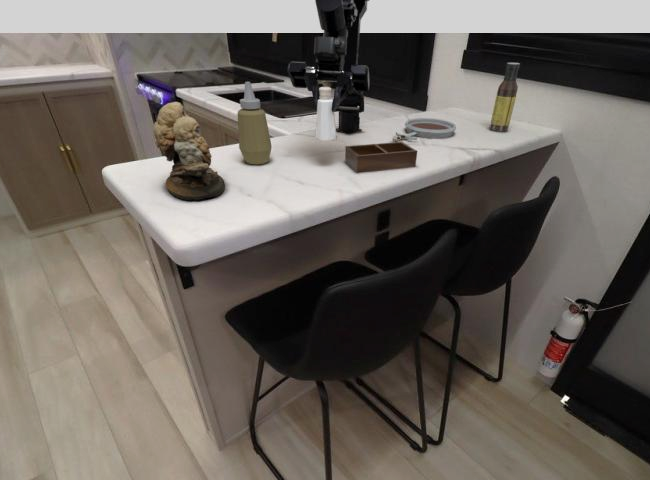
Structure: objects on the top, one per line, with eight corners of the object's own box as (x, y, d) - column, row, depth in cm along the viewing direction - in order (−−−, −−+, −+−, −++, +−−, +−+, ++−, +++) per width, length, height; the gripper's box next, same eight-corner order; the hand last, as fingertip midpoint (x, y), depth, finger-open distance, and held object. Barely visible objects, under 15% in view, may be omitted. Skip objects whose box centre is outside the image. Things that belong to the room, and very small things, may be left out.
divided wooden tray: (345, 162, 100) (345, 146, 97) (400, 156, 104) (402, 141, 102) (357, 172, 93) (357, 156, 91) (415, 166, 98) (417, 150, 96)
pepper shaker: (330, 142, 90) (329, 90, 83) (310, 139, 92) (308, 88, 85) (340, 137, 94) (341, 87, 87) (321, 133, 96) (320, 84, 89)
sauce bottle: (501, 127, 134) (518, 61, 122) (511, 132, 130) (529, 64, 117) (485, 127, 133) (500, 61, 121) (494, 132, 128) (511, 64, 116)
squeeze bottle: (279, 159, 99) (272, 81, 88) (261, 168, 93) (251, 86, 82) (254, 154, 102) (244, 78, 91) (234, 163, 96) (221, 82, 85)
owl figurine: (237, 196, 80) (223, 107, 69) (180, 208, 74) (154, 114, 64) (210, 170, 91) (194, 91, 81) (159, 179, 86) (134, 95, 75)
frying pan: (372, 128, 118) (424, 114, 134) (372, 138, 120) (423, 123, 136) (416, 140, 109) (466, 123, 125) (415, 150, 111) (464, 132, 127)
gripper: (286, 18, 82) (275, 84, 81) (371, 21, 80) (361, 89, 79) (298, 56, 93) (288, 115, 92) (373, 60, 91) (364, 120, 90)
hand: (324, 110), depth 88 cm, fingers closed on pepper shaker, 4 cm apart
